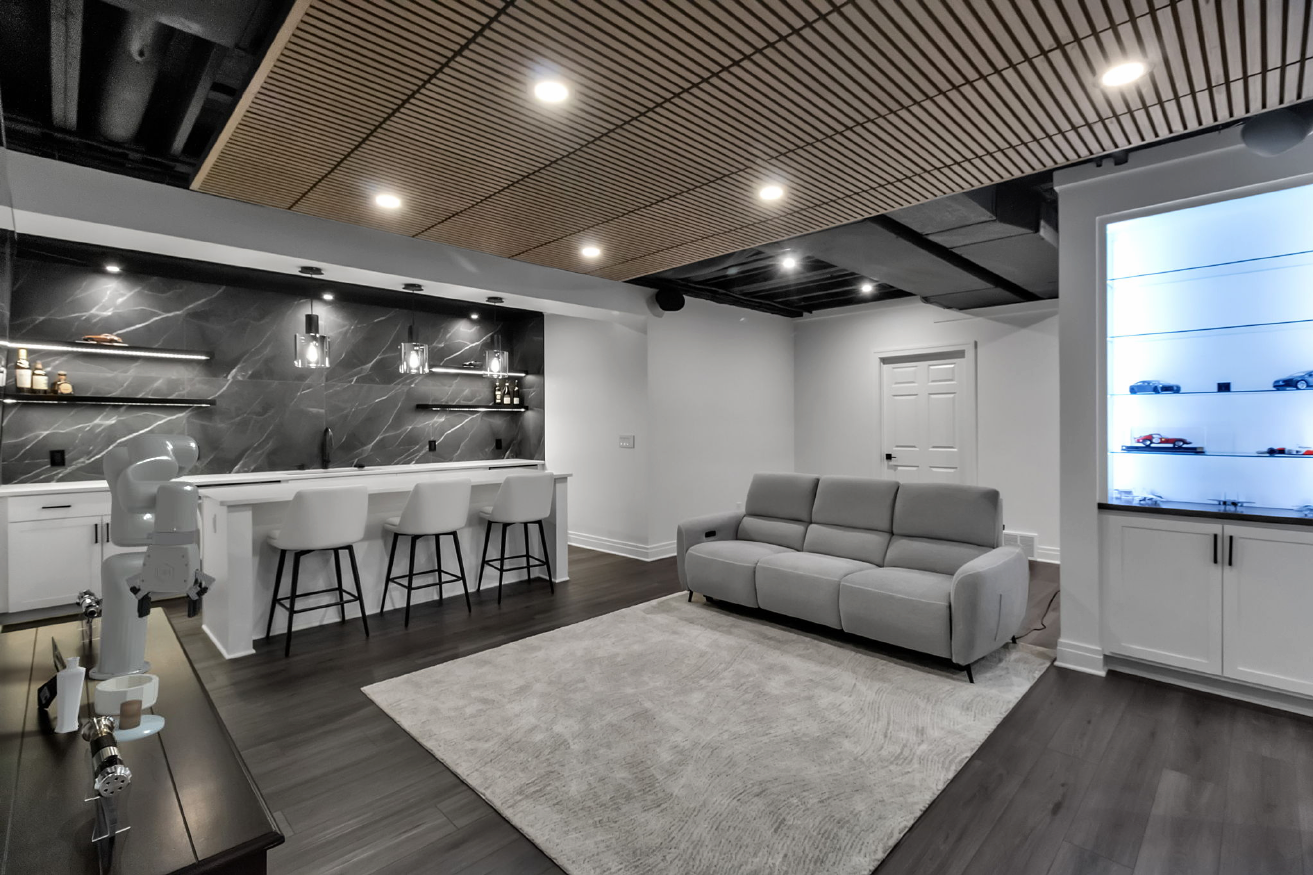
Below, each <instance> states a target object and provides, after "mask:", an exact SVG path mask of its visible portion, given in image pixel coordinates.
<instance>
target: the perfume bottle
mask: <svg viewBox="0 0 1313 875" xmlns="http://www.w3.org/2000/svg"><path fill="white" fill-rule="evenodd" d="M80 658H81V657H80V656H72V657H68V658H66V659H65V660H66V668H64V669H63V670H60V671H58V672H56V692H57V693H56V696H57V697H56V699H57V700H56V701H57V702H56V704H57V705H56V706H57V712H56V713H57V724H56V727H55V728H54V729H55V730H54V733H55V732H56V733H58V734H65V733H69V732H74V731H78V728H79V727H78V725H79V721H78V717H79V711H80V705H81V699H82V692H83V686H84V681H85V675H86V668H85V667H83V666H82V667H81V666H79V661H80ZM79 726H80V725H79Z"/></svg>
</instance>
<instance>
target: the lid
mask: <svg viewBox="0 0 1313 875" xmlns="http://www.w3.org/2000/svg"><path fill="white" fill-rule="evenodd" d="M141 709H142V700H129V701H125V702H123V703H121V704H120V715H119V718H117V719H114V720H115V729H114V733H113V735H114V736H115V738H116V740H117V743H116V744H118V743H119V744H121V743H125V742H132V741H135V740H136V741H137V740H140V739H143V738H147V737H149V736H152V735H154V734H156V733H158V732H159V731H161V730H162V729H164V726H165V718H164V717H163V716H160V715H156V714H142V711H141Z"/></svg>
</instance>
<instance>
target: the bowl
mask: <svg viewBox="0 0 1313 875" xmlns="http://www.w3.org/2000/svg"><path fill="white" fill-rule="evenodd" d="M159 683H160V678H159V677H158V676H157V675H156V674H150V673H149V674H147V673H142V674H135V675H126V676H121V677H115V678H112V679H109V680H103V681H100V682H99V683H98V684H97V685H96V686H95V692H94V701H93V702H94V704H93V705H94V706H93V707H94V713H95V714H96V715H100V716H104V717H105V716H106V717H107V716H109V717H110V716H120V704H121V703H123V702H125V701H129V700H142V709H141V712H142V711H144V710H147V709H149V708H151V707H152V706H154V705H156V703H157V698H158V694H159Z"/></svg>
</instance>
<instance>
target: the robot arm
mask: <svg viewBox="0 0 1313 875" xmlns="http://www.w3.org/2000/svg"><path fill="white" fill-rule="evenodd" d="M198 458H199V446H198V444H197V442H196V440H195V439H194V438H193V437H191V436H190V435H185V434H171V433H157V432H156V433H151V432H150V433H148V432H147V433H141V434H138V435H136V436H134V437H133V438H131V439H130V440H129V441H128V443H127V446H117V447H112V448H109V449H108V450H107V451H106V452H105V453H104V455H103V461H102V466H103V467H102V469H103V475H104V478H105V480H106V482H107V485H108V488H109V491H110V495H111V506H110V507H111V508H110V510H111V511H110V523H109V525H110V526H109V527H110V528H109V531H110V535H109V536H110V540H111V543H112V545H114V546H116V547H119V548H143V547H147V548H146V550H145V551H132V552H122V553H115V554H113V555H110V556H108V557H107V558H105V559H104V560H103V562H102V563H101V566H100V579H101V588H102V606H101V620H100V631H99V645H98V656H97V657H98V658H97V666H95V667H93V668H91V669H90V670H89V672H88V676H89V678H90V679H93V680H94V679H95V680H103V681H106V680H109V679H112V678H115V677H121V676H126V675H135V674H145V673H146V672H148V671H149V670H150V669H151V668H152V667H151V666H152V663H151V662H150V661H148V660H145V655H146V644H147V643H146V642H147V629H148V628H147V627H148V617H149V616H150V615H151V609H152V608H151V606H152V597H151V596H150V595H151V594H152V593H183V592H186V594H187V595H188V596H189V597H190V599H189V600H188V601H187V602H188V604H187V616H186V617H187V618H188V619H190V618H191V619H192V618H194V617H197V616H198V615H199V613H200V611H201V604H202V603H201V602H202V598H203V597H204V596H205V594H207V593H209V591H211V588H212V587H213V586H214V584H215V582H216V578H215V577H213V576H211V575H209V574H207V573H205V572H203V571H201V559H200V551H199V545H198V544H197V543H196V530H197V519H198V518H197V517H198V503H199V499H200V496H199V495H200V493H199V487H197V485H195V484H194V483H193V482H190V481H187V480H186V481H185V480H183V481H182V480H179V481H178V480H176V479H181V478H182V477H183V476H185V475H186V474H187V473H188V472H189V471H190V470H191V469H192V468H193V467H194V466H195V464H196V463H197V461H198ZM173 479H174V480H173ZM201 581H202V582H204V584H203V586H202V587H201V588H200V587H199V585H200V582H201Z"/></svg>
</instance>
